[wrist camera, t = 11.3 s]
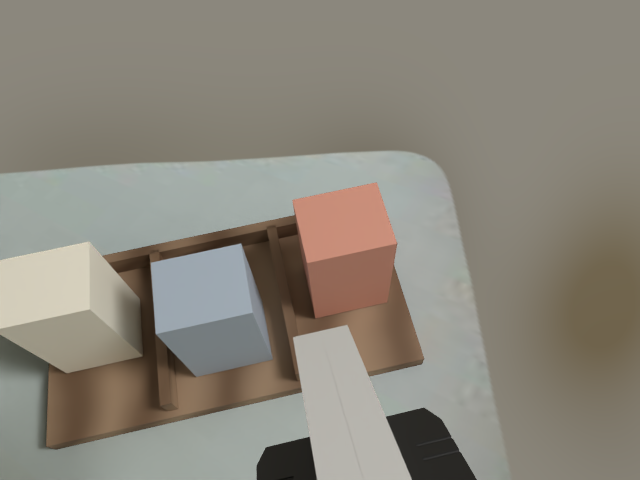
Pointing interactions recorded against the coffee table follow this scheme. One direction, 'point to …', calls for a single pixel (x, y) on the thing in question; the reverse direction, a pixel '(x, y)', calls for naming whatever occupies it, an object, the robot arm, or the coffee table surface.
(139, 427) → the wooden compartment tray
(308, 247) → the salmon pink block
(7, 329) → the cream rectangular block
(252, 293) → the light blue block
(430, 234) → the coffee table surface
